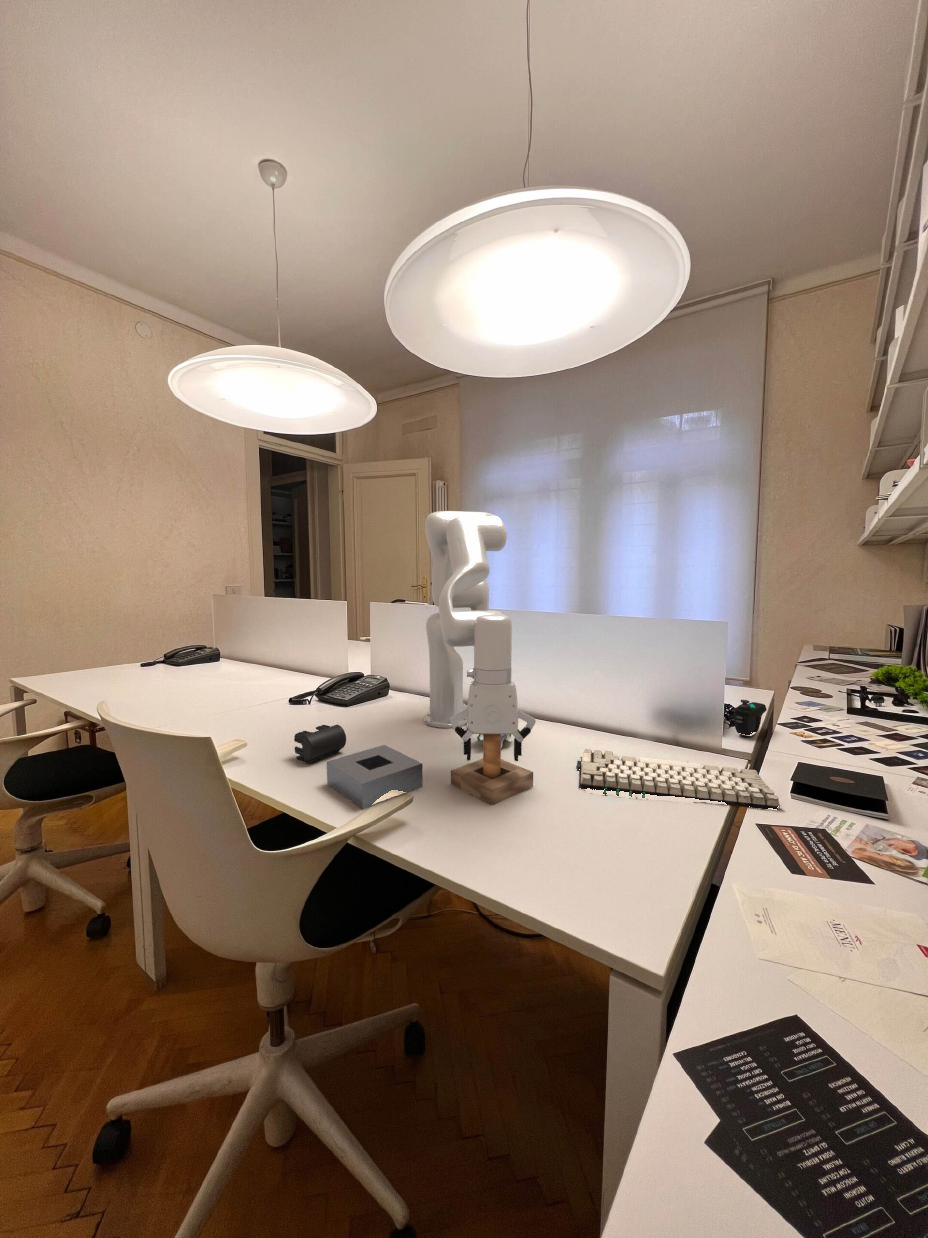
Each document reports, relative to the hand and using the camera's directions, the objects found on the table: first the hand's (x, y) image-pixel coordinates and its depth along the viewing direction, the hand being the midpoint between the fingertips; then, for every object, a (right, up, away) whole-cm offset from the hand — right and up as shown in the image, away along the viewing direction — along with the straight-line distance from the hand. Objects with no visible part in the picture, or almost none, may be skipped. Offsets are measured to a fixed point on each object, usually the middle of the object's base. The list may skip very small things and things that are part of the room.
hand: (492, 758), depth 102 cm
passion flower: (+1, -3, +25) cm, 25 cm away
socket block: (-24, -6, +1) cm, 25 cm away
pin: (0, -6, +1) cm, 6 cm away
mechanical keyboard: (+37, -7, +3) cm, 38 cm away
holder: (0, -6, +1) cm, 6 cm away
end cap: (-40, -4, +16) cm, 43 cm away
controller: (+70, -3, +31) cm, 77 cm away
